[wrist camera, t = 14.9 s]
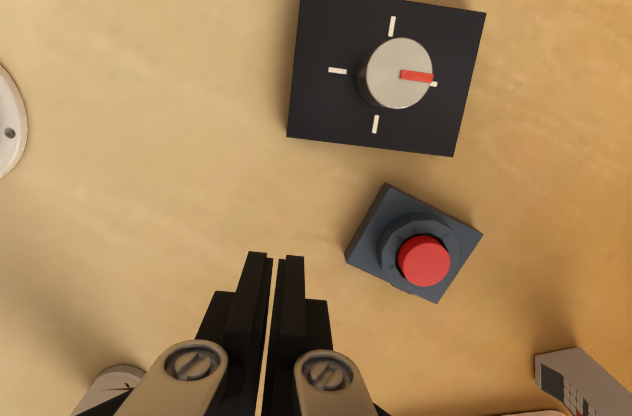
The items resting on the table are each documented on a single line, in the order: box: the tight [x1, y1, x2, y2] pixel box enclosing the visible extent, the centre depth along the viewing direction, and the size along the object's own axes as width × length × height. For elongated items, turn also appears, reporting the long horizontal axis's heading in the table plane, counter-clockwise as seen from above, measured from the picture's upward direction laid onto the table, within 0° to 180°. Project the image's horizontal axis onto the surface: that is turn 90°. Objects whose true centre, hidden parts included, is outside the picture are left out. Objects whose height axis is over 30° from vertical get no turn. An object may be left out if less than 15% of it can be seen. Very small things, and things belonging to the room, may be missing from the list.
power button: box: [398, 235, 450, 287], centre depth 32 cm, size 4×4×2 cm
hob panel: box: [286, 0, 486, 157], centre depth 30 cm, size 14×11×3 cm
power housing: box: [344, 182, 483, 304], centre depth 34 cm, size 10×8×4 cm
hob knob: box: [355, 37, 434, 109], centre depth 27 cm, size 4×4×5 cm
